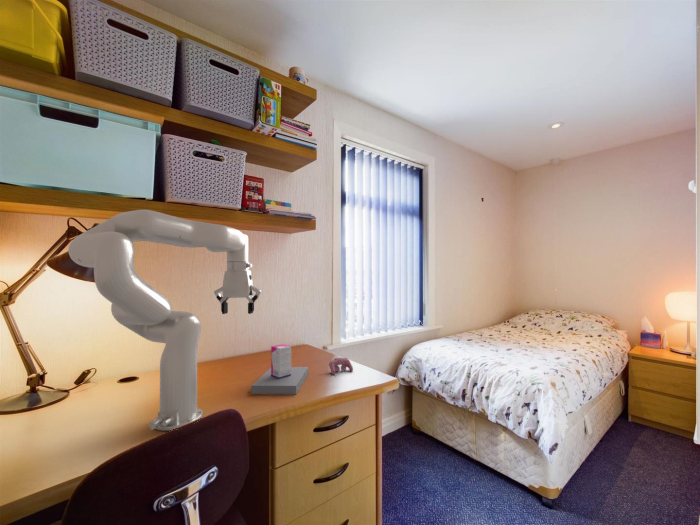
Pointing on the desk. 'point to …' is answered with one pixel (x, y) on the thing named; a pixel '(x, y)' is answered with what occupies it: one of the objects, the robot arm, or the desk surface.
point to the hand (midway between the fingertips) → (237, 313)
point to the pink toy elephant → (340, 361)
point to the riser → (280, 382)
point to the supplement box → (280, 361)
